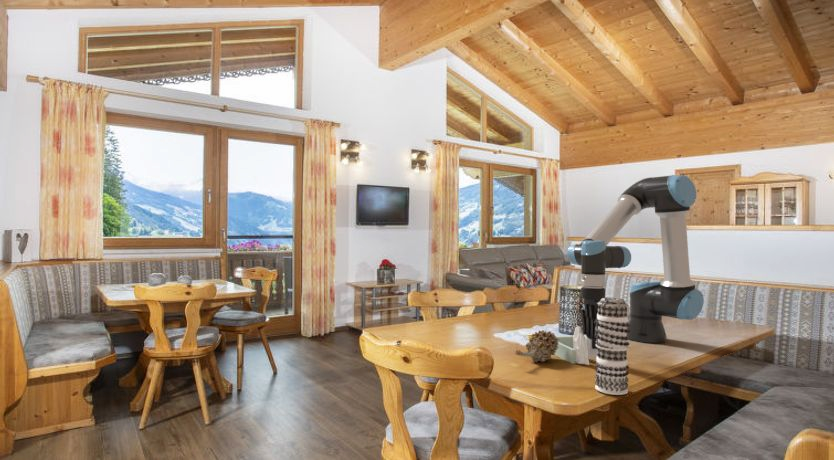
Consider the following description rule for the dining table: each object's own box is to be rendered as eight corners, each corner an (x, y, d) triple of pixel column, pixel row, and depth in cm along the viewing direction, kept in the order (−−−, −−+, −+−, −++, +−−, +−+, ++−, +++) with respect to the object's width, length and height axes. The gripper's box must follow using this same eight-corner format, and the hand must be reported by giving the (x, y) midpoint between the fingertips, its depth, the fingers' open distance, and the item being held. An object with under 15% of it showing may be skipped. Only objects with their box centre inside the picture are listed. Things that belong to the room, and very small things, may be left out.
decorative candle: (593, 392, 130) (594, 299, 130) (593, 382, 139) (594, 295, 139) (630, 397, 127) (631, 302, 127) (628, 386, 136) (629, 297, 136)
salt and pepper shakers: (573, 356, 168) (570, 324, 169) (586, 356, 167) (583, 324, 168) (576, 365, 157) (573, 330, 157) (590, 365, 156) (587, 330, 156)
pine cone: (538, 354, 170) (539, 325, 170) (564, 359, 164) (565, 329, 164) (505, 367, 154) (506, 335, 154) (533, 373, 148) (533, 340, 148)
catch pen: (581, 347, 181) (582, 335, 181) (613, 361, 162) (613, 347, 162) (544, 349, 177) (544, 337, 177) (572, 363, 159) (572, 349, 159)
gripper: (572, 284, 166) (571, 353, 166) (594, 289, 154) (593, 363, 154) (591, 284, 168) (591, 352, 168) (615, 288, 155) (614, 362, 155)
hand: (592, 357), depth 161 cm, fingers closed
